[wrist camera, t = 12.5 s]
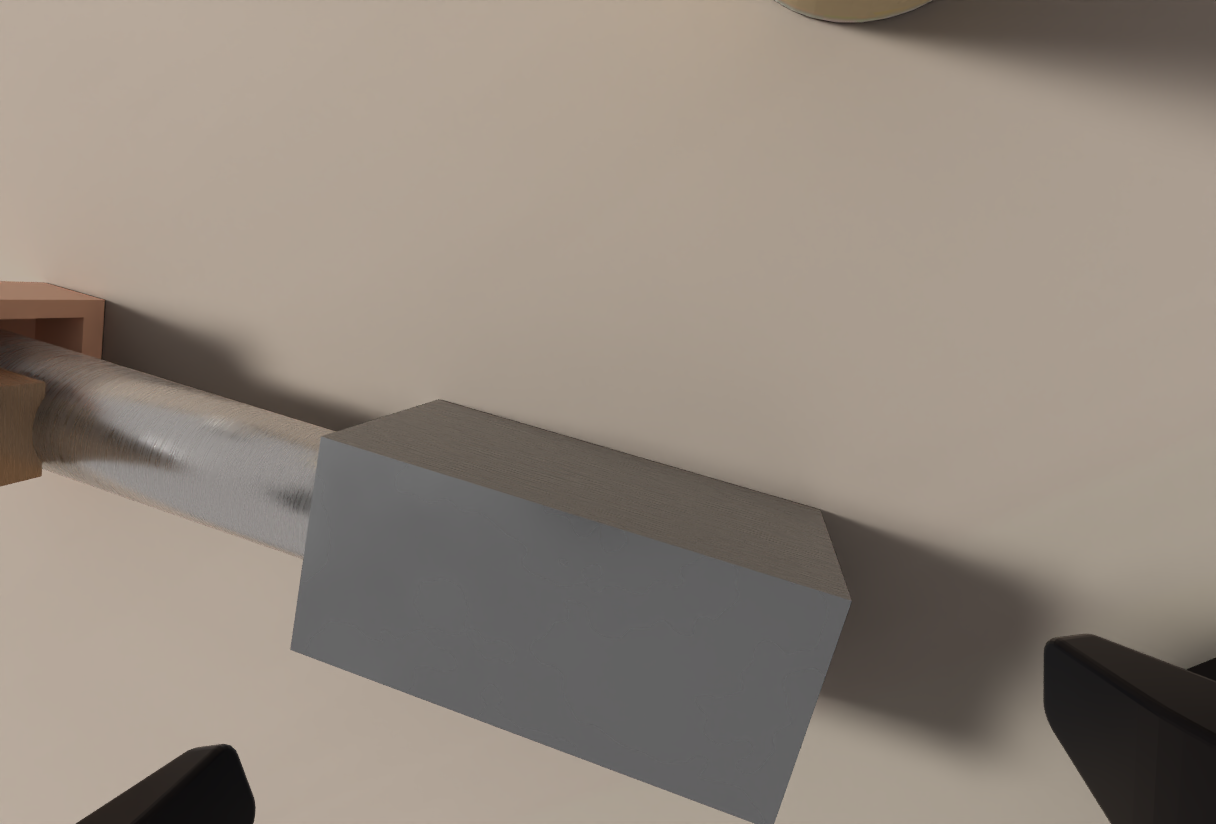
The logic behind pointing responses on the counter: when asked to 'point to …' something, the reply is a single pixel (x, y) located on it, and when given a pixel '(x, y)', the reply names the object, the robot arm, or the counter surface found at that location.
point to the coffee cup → (852, 9)
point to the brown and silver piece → (156, 442)
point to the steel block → (575, 598)
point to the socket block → (53, 315)
